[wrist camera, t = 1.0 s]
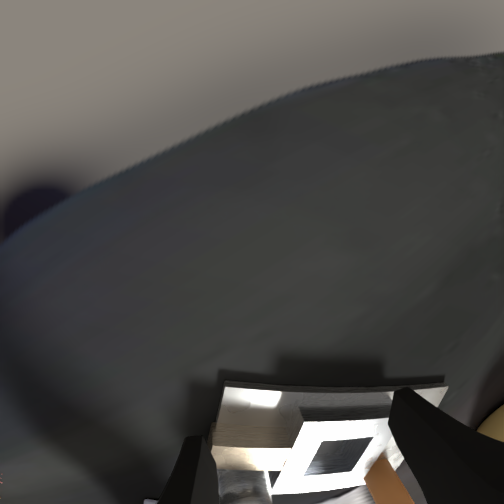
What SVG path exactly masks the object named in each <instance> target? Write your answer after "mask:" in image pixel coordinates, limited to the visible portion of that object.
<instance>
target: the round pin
mask: <svg viewBox="0 0 504 504" xmlns="http://www.w3.org/2000/svg"><path fill="white" fill-rule="evenodd" d="M363 479H364V481H365V483H366V485H367V487H368V489H369V491H370V493H371V495H372V497H373V499H374V501H375V503H376V504H415V503H414V502H413V500H412V498H411V497H410V495H409V493H408V492H407V490H406V489H405V487H404V485H403V484H402V482H401V480H400V479H399V477H398V475H397V474H396V472H395V471H394V469H393V467H392V466H391V464H390V462H389V461H388V460H386V459H382V460H378V461H376V462H375V463H374V464H373V466H372V467H371V468H370V470H369V471H368V473H367V474H366V475H365V477H364V478H363Z"/></svg>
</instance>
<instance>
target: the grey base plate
mask: <svg viewBox="0 0 504 504" xmlns="http://www.w3.org/2000/svg"><path fill="white" fill-rule="evenodd" d="M407 386H408V387H409V388H411V389H412V390H414V391H415V392H416V393H418V394H419V395H420V396H422V397H423V398H425V399H426V400H427V401H429V402H430V403H432V404H433V405H434V406H436V407H438V405H439V403H440V402H441V400H442V398H443V396H444V394H445V393H446V391H447V389H448V387H449V386H448V385H447V384H446V383H445V382H441V383H431V384H419V385H404V386H383V387H311V386H290V385H274V384H261V383H250V382H239V381H230V380H225V381H224V385H223V389H222V394H221V398H220V403H219V407H218V412H217V416H216V421H215V423H223V424H234V425H248V426H269V427H285V425H286V423H287V420H288V418H289V415H290V413H291V410H292V408H293V405H294V402H295V400H364V399H384V398H391V399H393V394H394V391H396V390H399V389H402V388H404V387H407ZM349 440H350V439H343V440H328V441H321V443H320V445H319V447H318V449H317V451H316V453H315V455H318V454H332V453H342V452H343V450H344V449H345V447H346V445H347V444H348V442H349ZM382 459H386V460H388V461H389V462H390V464H391V466H392V467H393V469H394V471H395V470H396V469H397V467H398V466H399V465H400V463H401V462H402V461H403V459H404V457H403V455H402V454H401V452H400V450H399V448H398V447H397V445H396V443H395V440H394V438H393V436H392V437H391V439H390V440H389V442H388V443H387V445H386V446H385V448H384V449H383V451H382V453H381V454H380V455H379V457H378V458H377V460H376V461H378V460H382ZM376 461H375V462H376ZM217 474H218V483H219V495H220V504H273V501H272V497H271V494H289V493H304V492H315V491H324V490H332V489H340V488H346V487H353V486H359V485H364V484H366V483H365V481H364V479H362V481H360V482H354V483H347V484H340V485H333V486H324V487H314V488H302V489H286V490H272V488H271V484H270V480H269V476H268V471H257V470H229V469H217Z"/></svg>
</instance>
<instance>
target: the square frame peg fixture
mask: <svg viewBox="0 0 504 504" xmlns="http://www.w3.org/2000/svg"><path fill="white" fill-rule="evenodd" d="M391 404H392V399H391V398H384V399H364V400H295V402H294V405H293V408H292V410H291V413H290V415H289V418H288V420H287V423H286V425H285V427H269V426H248V425H234V424H223V423H213V422H212V423H211V428H210V432H209V437H208V442H207V445H208V447H209V450H210V452H211V454H212V456H213V458H214V460H215V462H216V465H217V469H229V470H257V471H268V476H269V480H270V484H271V488H272V490H286V489H302V488H314V487H324V486H333V485H340V484H347V483H354V482H360V481H362V479H363V478H364V477H365V475H366V474H367V473H368V471H369V470H370V468H371V467H372V466H373V464H374V463H375V461H376V460H377V458H378V457H379V455H380V454H381V453H382V451H383V449H384V448H385V446H386V445H387V443H388V442H389V440H390V439H391V437H392V433H391V431H390V428H389V426H388V419H389V414H390V410H391ZM343 439H350V440H349V442H348V444H347V445H346V447H345V449H344V450H343V452H342V453H332V454H318V455H315V453H316V451H317V449H318V447H319V445H320V443H321V441H328V440H343Z"/></svg>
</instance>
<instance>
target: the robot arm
mask: <svg viewBox="0 0 504 504" xmlns="http://www.w3.org/2000/svg"><path fill="white" fill-rule="evenodd" d="M388 426H389V428H390V431H391V433H392V436H393V438H394V440H395V443H396V445H397V447H398V448H399V450H400V452H401V454H402V455H403V457H404V459H405V460H406V462H407V464H408V466H409V467H410V469H411V471H412V472H413V474H414V476H415V478H416V479H417V481H418V483H419V485H420V487H421V489H422V491H423V493H424V496H425V498H426V501H427V503H428V504H504V442H502V441H499V440H496V439H493V438H491V437H488V436H486V435H484V434H482V433H479V432H477V431H475V430H473V429H471V428H469V427H468V426H466V425H464V424H462V423H461V422H459V421H457V420H456V419H454V418H452V417H451V416H449V415H448V414H446V413H445V412H443V411H442V410H440V409H439V408H437V407H436V406H434V405H433V404H432V403H430V402H429V401H427V400H426V399H425V398H423V397H422V396H420V395H419V394H418V393H416V392H415V391H414V390H412V389H411V388H409V387H408V386H407V387H404V388H402V389H399V390H396V391H394V394H393V399H392V404H391V410H390V414H389V419H388ZM144 504H219V483H218V474H217V465H216V462H215V460H214V458H213V456H212V454H211V452H210V450H209V447H208V445H207V443H206V441H205V439H204V437H203V435H201V436H190V437H186V438H185V439H184V442H183V445H182V448H181V451H180V454H179V457H178V459H177V462H176V464H175V467H174V469H173V471H172V474H171V476H170V478H169V480H168V482H167V485H166V487H165V489H164V491H163V493H162V494H161V496H160V498H159V500H158V501H156V500H150V499H145V500H144Z"/></svg>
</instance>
